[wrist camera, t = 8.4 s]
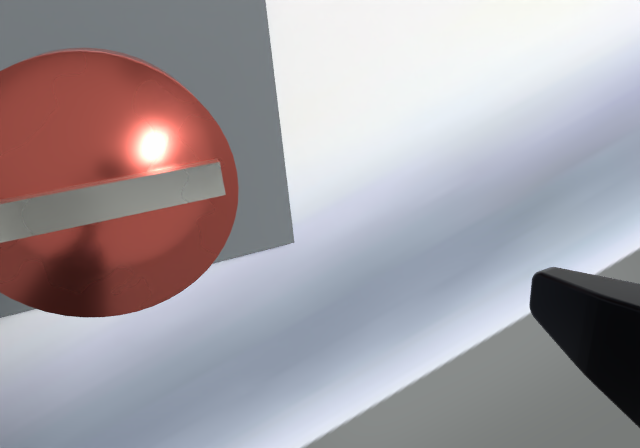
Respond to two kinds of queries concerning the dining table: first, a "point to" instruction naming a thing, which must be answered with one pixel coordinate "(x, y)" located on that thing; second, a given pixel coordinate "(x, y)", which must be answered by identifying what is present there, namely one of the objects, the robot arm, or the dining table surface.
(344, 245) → the dining table surface
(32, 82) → the no entry disc
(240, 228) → the mat
